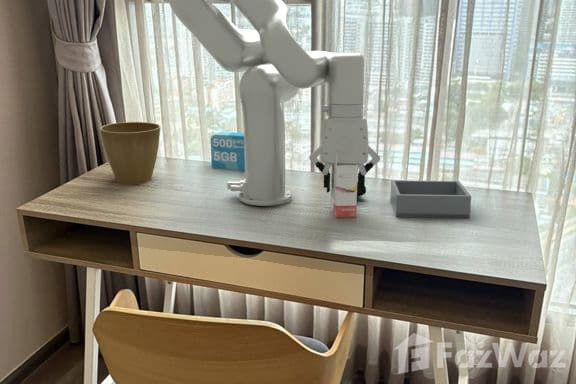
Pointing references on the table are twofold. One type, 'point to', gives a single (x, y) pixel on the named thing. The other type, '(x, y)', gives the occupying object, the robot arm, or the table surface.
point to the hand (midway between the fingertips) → (343, 190)
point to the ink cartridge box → (344, 189)
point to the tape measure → (363, 191)
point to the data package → (228, 151)
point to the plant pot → (131, 150)
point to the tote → (430, 199)
